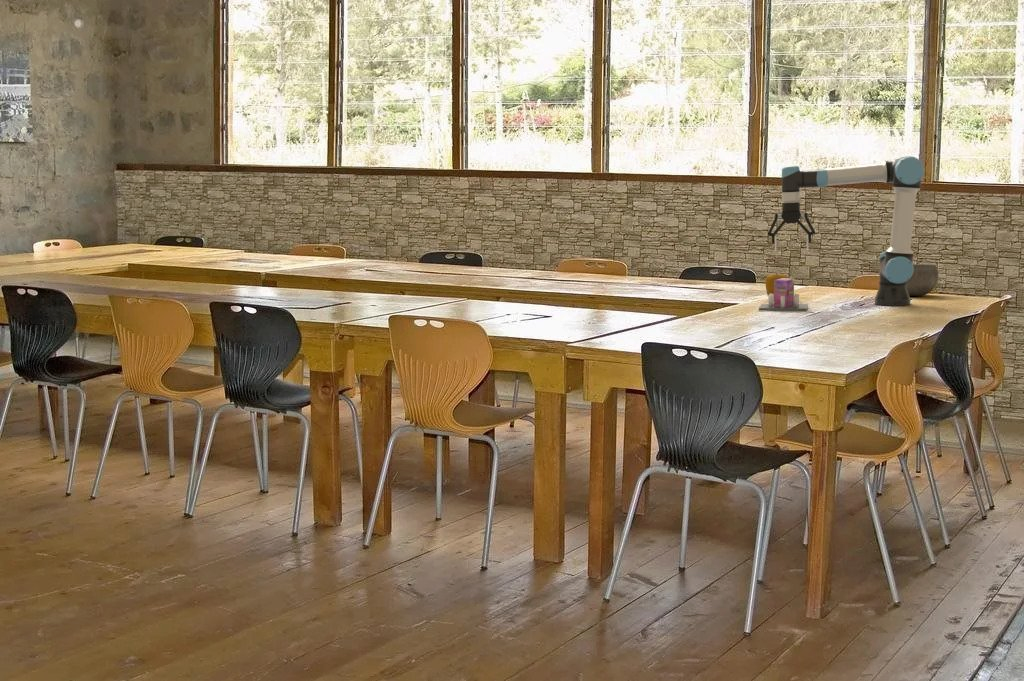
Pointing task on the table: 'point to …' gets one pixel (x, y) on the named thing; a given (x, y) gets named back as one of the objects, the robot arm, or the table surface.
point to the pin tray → (791, 308)
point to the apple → (772, 282)
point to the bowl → (922, 279)
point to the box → (784, 291)
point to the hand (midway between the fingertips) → (791, 251)
